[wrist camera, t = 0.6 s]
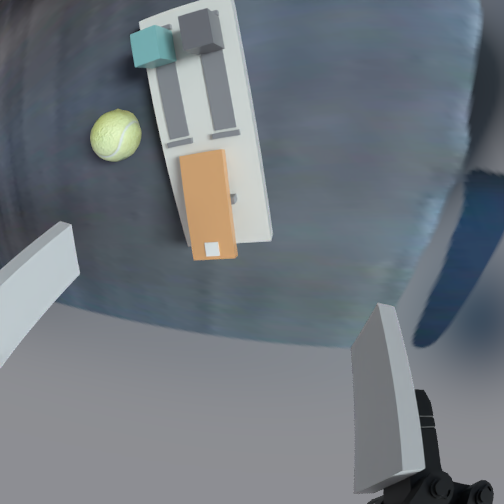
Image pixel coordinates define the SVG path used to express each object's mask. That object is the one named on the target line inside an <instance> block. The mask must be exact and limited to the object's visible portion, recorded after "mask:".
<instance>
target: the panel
mask: <svg viewBox="0 0 504 504" xmlns="http://www.w3.org/2000/svg"><path fill="white" fill-rule="evenodd" d="M205 8H208V9H209V10H210V11H212V12H213V13H214V14H216V15H217V16H218V17H219V20H220V25H221V31H222V36H223V42H224V47H225V49H221V50H217V51H213V52H208V53H204V54H200V55H196V54H192V53H189V52H186V51H183V45H182V39H181V33H180V27H179V21H178V16H181V15H185V14H188V13H191V12H195V11H198V10H202V9H205ZM139 25H140V30H143V29H145V28H148V27H150V26H153V25H157V26H160V27H163V28H166V29H168V30H171V31H172V36H173V42H174V48H175V54H176V60H177V61H175V62H172V63H169V64H166V65H163V66H160V67H157V68H154V69H151V68H147V74H148V80H149V85H150V90H151V95H152V100H153V105H154V110H155V115H156V120H157V125H158V129H159V134H160V138H161V143H162V147H163V152H164V156H165V160H166V165H167V169H168V173H169V177H170V181H171V185H172V189H173V193H174V197H175V201H176V205H177V208H178V212H179V216H180V220H181V223H182V227H183V231H184V234H185V238H186V241H187V245H188V246H191V240H190V233H189V227H188V220H187V213H186V206H185V199H184V192H183V184H182V176H181V168H180V159H179V157H180V156H185V155H190V154H196V153H201V152H207V151H213V150H219V149H223V150H225V155H226V164H227V172H228V181H229V189H230V197H231V206H232V214H233V222H234V230H235V238H236V243H247V242H264V241H271V239H272V235H273V231H272V224H271V217H270V210H269V203H268V196H267V190H266V183H265V176H264V170H263V163H262V157H261V151H260V144H259V138H258V132H257V126H256V120H255V114H254V108H253V102H252V96H251V90H250V84H249V79H248V73H247V67H246V62H245V56H244V51H243V45H242V40H241V34H240V29H239V24H238V18H237V13H236V8H235V3H234V0H200V1H196V2H193V3H190V4H186V5H183V6H180V7H177V8H174V9H171V10H168V11H165V12H163V13H160V14H157V15H155V16H152V17H149V18H147V19H144V20H142V21H140V22H139Z"/></svg>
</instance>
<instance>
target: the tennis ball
mask: <svg viewBox="0 0 504 504" xmlns="http://www.w3.org/2000/svg"><path fill="white" fill-rule="evenodd" d="M140 140H141V129H140V125H139V122H138V120H137V118H136V117H135V116H134V114H133V113H130V112H129V111H125V110H120V109H116V110H114V111H110V112H107V113H105V114H103V115H102V116H101V117H100V118H99V119H98V120H97V121H96V123H95V124H94V126H93V128H92V130H91V135H90V141H91V146H92V148H93V150H94V152H95V153H96V154H97V155H98V156H99V157H100V158H102V159H104V160H107V161H111V162H112V161H114V162H117V161H120V160H124V159H126V158H127V157H129V156H131V155H132V154H133V153H134V152H135V151H136V149H137V148H138V146H139V143H140Z"/></svg>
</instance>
